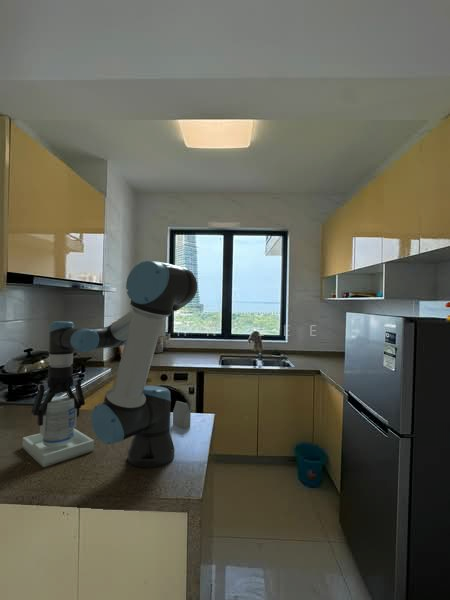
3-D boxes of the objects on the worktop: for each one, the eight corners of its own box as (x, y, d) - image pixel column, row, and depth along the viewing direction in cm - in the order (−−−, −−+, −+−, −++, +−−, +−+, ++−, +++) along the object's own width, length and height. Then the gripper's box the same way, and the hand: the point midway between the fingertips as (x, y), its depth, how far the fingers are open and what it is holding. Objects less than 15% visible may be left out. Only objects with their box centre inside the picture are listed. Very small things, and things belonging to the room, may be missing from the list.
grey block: (184, 429, 130) (184, 405, 130) (172, 425, 134) (173, 402, 134) (190, 427, 133) (190, 403, 133) (178, 423, 137) (179, 400, 137)
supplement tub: (75, 444, 108) (76, 401, 109) (43, 450, 103) (45, 405, 103) (71, 434, 116) (72, 394, 117) (41, 440, 111) (43, 398, 112)
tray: (93, 450, 109) (94, 440, 109) (43, 467, 97) (43, 455, 97) (69, 434, 122) (69, 425, 122) (22, 447, 110) (22, 437, 110)
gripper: (87, 360, 121) (85, 419, 121) (21, 368, 105) (18, 436, 104) (96, 363, 116) (94, 424, 116) (28, 371, 100) (26, 443, 99)
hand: (58, 430), depth 110 cm, fingers closed on supplement tub, 9 cm apart
